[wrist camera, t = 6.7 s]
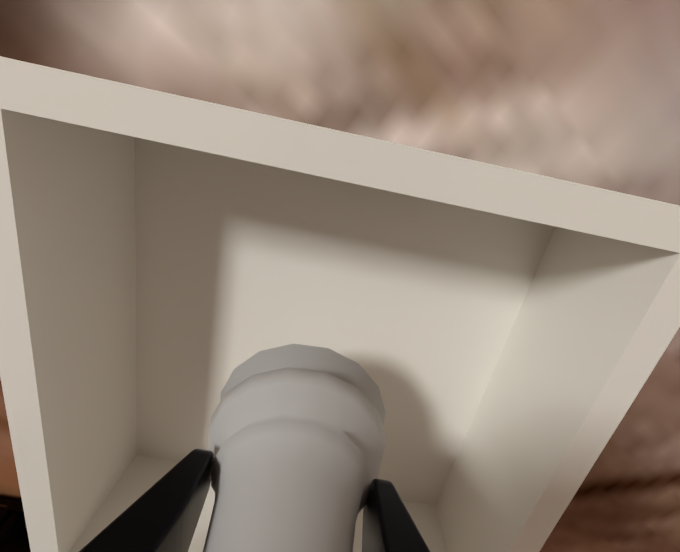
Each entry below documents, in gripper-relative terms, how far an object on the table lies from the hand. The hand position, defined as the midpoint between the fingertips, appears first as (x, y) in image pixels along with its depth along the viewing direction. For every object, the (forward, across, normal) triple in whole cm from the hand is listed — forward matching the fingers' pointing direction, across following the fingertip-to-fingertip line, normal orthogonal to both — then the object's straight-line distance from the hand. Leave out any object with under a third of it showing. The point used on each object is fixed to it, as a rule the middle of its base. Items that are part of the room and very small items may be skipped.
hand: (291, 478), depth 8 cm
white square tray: (+5, 0, 0) cm, 5 cm away
